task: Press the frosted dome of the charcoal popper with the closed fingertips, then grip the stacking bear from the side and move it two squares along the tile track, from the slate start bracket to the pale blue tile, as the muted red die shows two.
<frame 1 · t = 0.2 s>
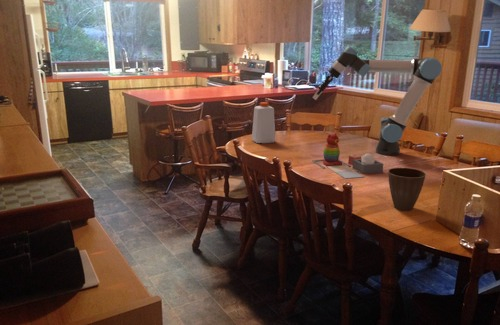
hand: (314, 97, 267), 36 cm above the table, tool tilted 35°, fingers open, 13 cm apart
plastic bottle: (263, 141, 308), on the table
track: (340, 169, 240), on the table
plant pot: (402, 208, 184), on the table
popper base: (367, 170, 238), on the table
stacking bear: (331, 164, 251), resting in track
die: (354, 164, 250), on the table
dome: (368, 160, 237), point 6 cm above the table, slide at 0.5 cm
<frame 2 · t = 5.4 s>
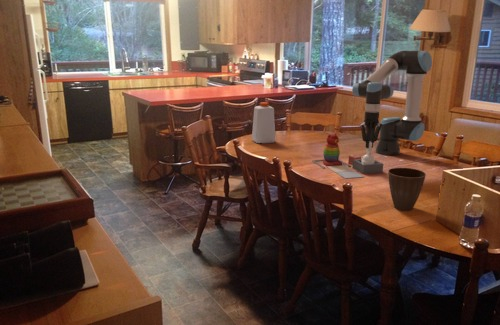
hand: (368, 153, 236), 10 cm above the table, tool pointing down, fingers closed
dome: (368, 161, 237), point 5 cm above the table, slide at 0.8 cm, touching gripper
everything else where it was.
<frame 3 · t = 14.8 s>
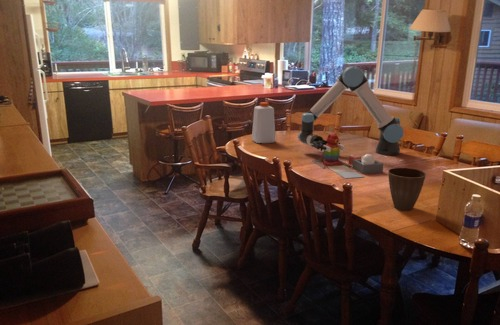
hand: (336, 149, 244), 10 cm above the table, tool horizontal, fingers closed on stacking bear, 9 cm apart
stacking bear: (331, 164, 251), resting in track, touching gripper
dome: (368, 161, 237), point 5 cm above the table, slide at 0.8 cm
everything else where it was.
when the fingers open (12 cm above the table, at t = 20.8 s): stacking bear drops 2 cm, resting on track.
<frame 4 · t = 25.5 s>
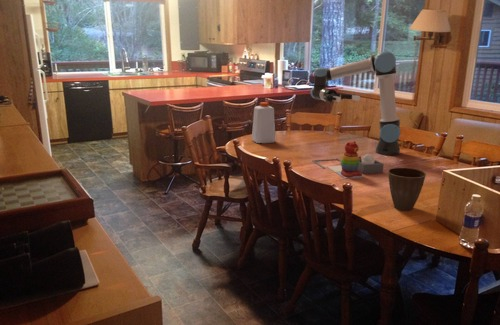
hand: (350, 99, 242), 38 cm above the table, tool horizontal, fingers open, 13 cm apart
stacking bear: (349, 174, 229), resting on track
everything else where it was.
at the end: stacking bear inside the target area (0.1 cm from its centre), resting on track; stacking bear tilted 0°; the gripper is holding nothing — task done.
